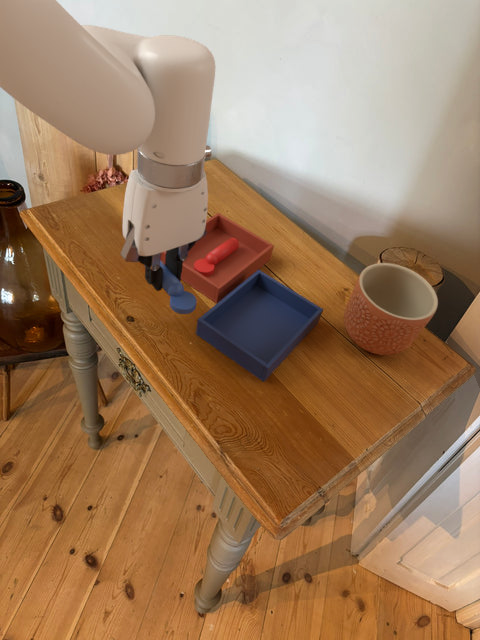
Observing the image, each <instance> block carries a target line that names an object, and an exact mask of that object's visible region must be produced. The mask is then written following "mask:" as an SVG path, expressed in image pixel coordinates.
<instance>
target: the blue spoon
mask: <svg viewBox="0 0 480 640" xmlns="http://www.w3.org/2000/svg"><path fill="white" fill-rule="evenodd" d="M160 266H161V267H162V269H163V282H162V289H163V290H164V291H165V293H166V294H167V295H168V296H169V297H170V298H169V307H170V310H172V311H173V312H174V313H177V314H179V315H188V314H191V313H192V312H194V311H195V310H196V307H197V301H198V300H197V297H196V296H195V295H194V294H193V293H192V292H190V291H186V290H185V287H184V285H183V283H182V281H179V280H178V279H177V278H176V277H175V276H174V274H173V273H172V272H171V271H170V270H169V269H168V268H167V267H166V265H165V264H164V263H163V262H162V261H161V260H160ZM143 267H145V265H143Z"/></svg>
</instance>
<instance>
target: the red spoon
mask: <svg viewBox="0 0 480 640" xmlns="http://www.w3.org/2000/svg"><path fill="white" fill-rule="evenodd" d="M238 247H239V242H238V240H237V239H235V238H230V239H228V240H227V241H225V242H224V243H223V244H221V245H220V246H218V247H217V248H215V249H214V250H213V251H211V252H210V253H208V254H207V255H206V258H205V259H199V260H197V261H196V262H195V263H194V270H196V271H197V272H199V273H200V274H202V275H203V276H210V275H212V274H213V272H214V267H215V266H214V265H216V264H218V263H219V262H220V261H222V260H223V259H224V258H226V257H227V256H228V255H230V254H231V253H233V252H234V251H235V250H237V249H238Z"/></svg>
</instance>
